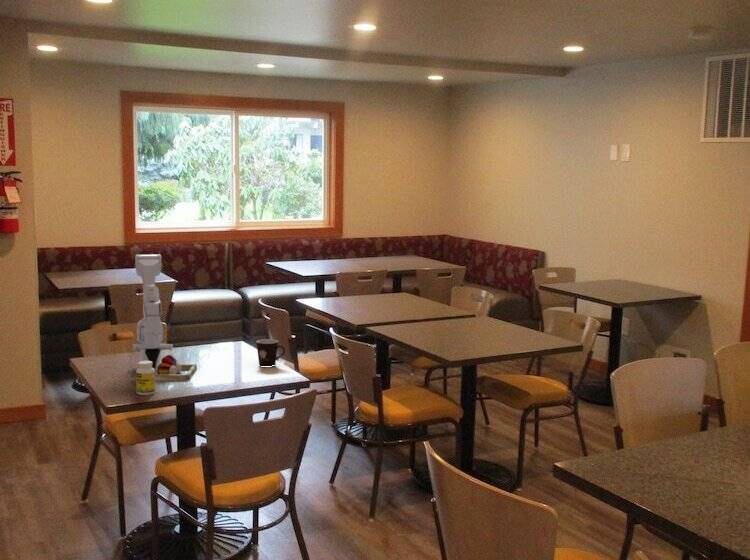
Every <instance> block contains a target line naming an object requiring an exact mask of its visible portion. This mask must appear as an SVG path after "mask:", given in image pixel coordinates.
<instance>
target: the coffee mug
mask: <svg viewBox="0 0 750 560" xmlns="http://www.w3.org/2000/svg"><path fill="white" fill-rule="evenodd" d="M256 347H257V357H258V364H259V365H260V366H272V365H275V366H276V365H277V364H276V363H277V360H279V358H281V357H283V356H284V355H285V353H286V349H285V347H284V346H282V345H279V340H277V339H270V338H266V339H265V338H264V339H263V338H262V339H258V340H256ZM279 348H281V349H282V350H283V353H282V354H280V355H279V356H278V357H277V354H278V349H279ZM260 366H259V367H260Z"/></svg>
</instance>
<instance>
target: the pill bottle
mask: <svg viewBox="0 0 750 560" xmlns="http://www.w3.org/2000/svg"><path fill="white" fill-rule="evenodd" d="M137 366H138V368H137V369H136V372H135V374H136V375H135V379H136V381H135V382H136V384H135V385H136V390H135V391H136V394H137V395H139V396H150V395H153V394H155V392H156V380H155V374H156V373H155V370H154V368H152V361H141V360H140V361H138V365H137Z"/></svg>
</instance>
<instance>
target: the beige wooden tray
mask: <svg viewBox="0 0 750 560" xmlns="http://www.w3.org/2000/svg"><path fill="white" fill-rule="evenodd" d="M180 364H181V366H182V370H181V371H187V373H185V374H182V373H181V374H179V373H176V374H169V373H168V374H156V373H155V381H182V380H189V381H190V379H191V378H192V377H193V375H194V374H195V372H196V371H197V365H198V364H197V363H187V364H186V363H180ZM191 376H192V377H191Z"/></svg>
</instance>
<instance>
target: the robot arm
mask: <svg viewBox="0 0 750 560" xmlns="http://www.w3.org/2000/svg"><path fill="white" fill-rule="evenodd" d="M134 258H135V259H134V261H135V262H134V264H135V273H136V276H138V277H140V278H141V280H142V292H143V293H142V294H143V297H142V298H143V299H142V300H143V303H142V314H143V317H142V319H140V320H139V321H138V322H137V324H136V326H137V327H136V337H137V338H136V340H137V342H138V343H133V344H132V350H133V351H136V350H139V351H140V361H152V368H154V369H155V367H156V366H157V365H158V364H160V363H162V362H161V360H162V357H161V355H162V353H161V351H163V350H164V351H173V349H174V347H173V345H174V344H172V343H171V344H170V343H162V341H163V339H164V327H163V322H162V320H161V317H162V303H161V299H160V292H159V287H157V285H156V277H157V276H160V274H161V270H162V265H163V263H162V255H161V253H158V254H136V255H135V257H134Z"/></svg>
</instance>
